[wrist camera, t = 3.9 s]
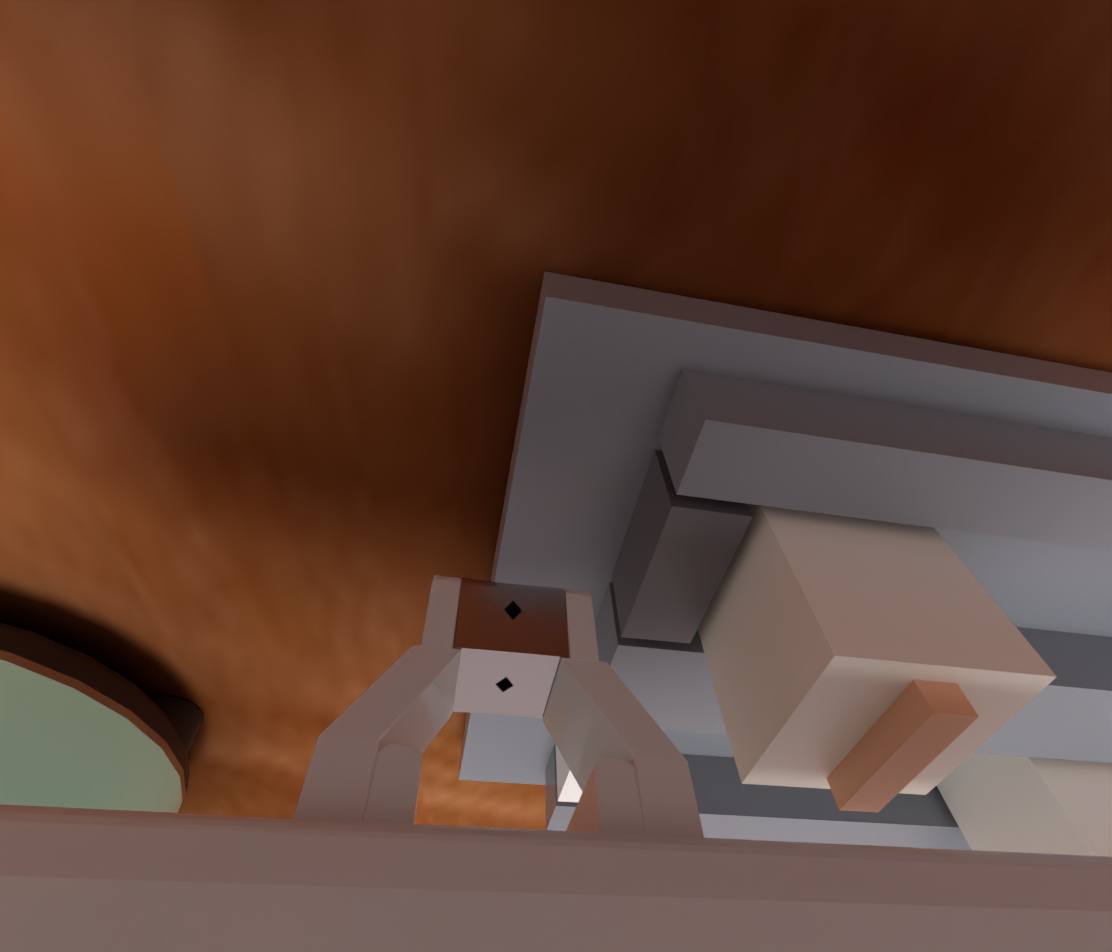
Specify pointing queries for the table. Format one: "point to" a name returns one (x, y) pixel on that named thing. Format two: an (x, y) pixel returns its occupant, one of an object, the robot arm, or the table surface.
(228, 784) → the table surface
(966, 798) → the tab
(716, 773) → the switch bank
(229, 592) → the table surface
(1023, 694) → the tab
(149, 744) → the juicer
